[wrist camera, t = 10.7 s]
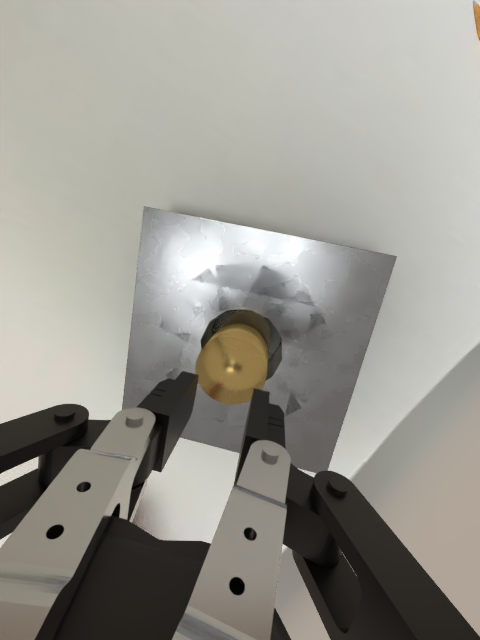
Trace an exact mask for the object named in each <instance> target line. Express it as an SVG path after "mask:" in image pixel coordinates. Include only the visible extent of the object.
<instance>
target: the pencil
mask: <svg viewBox="0 0 480 640" xmlns="http://www.w3.org/2000/svg"><path fill="white" fill-rule="evenodd" d="M473 1H474V0H473ZM474 13H475V20H476V27H477V33H478V36H479V39H480V6H479V5H478V4H477V3H476V2H475V1H474Z"/></svg>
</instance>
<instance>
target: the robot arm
mask: <svg viewBox="0 0 480 640" xmlns="http://www.w3.org/2000/svg"><path fill="white" fill-rule="evenodd" d="M198 378H199V375H198V374H194V373H190V372H186V371H182V372H181V373H180V374H179V376H178V377H177V378H176V379H175V380H173V379H169V378H168V379H166V380H163V381H161V382H159V383H158V384H157V385H156V387H155V388H154V389H153V390H152V391H151V392H150V394H148V395H147V396H146V397H145V398H144V399H143V401H142V402H141V403H140V404H139V405H138V406H137V407H136V408H127V409H124V410H121V411H119V412H118V413H117V414H116V415H115V416H114V417H113V418H112V420H88V417H89V412H88V410H87V409H86V408H85V407H83V406H81V405H77V404H62V405H57V406H54V407H51V408H48V409H45V410H42V411H39V412H36V413H32V414H29V415H26V416H23V417H20V418H17V419H14V420H11V421H8V422H5V423H2V424H0V474H1V473H2V472H4V471H6V470H9V469H11V468H13V467H15V466H18V465H20V464H22V463H24V462H27V461H29V460H31V459H33V458H36V457H38V456H39V461H38V469H36V470H33V471H31V472H29V473H27V474H25V475H23V476H21V477H19V478H17V479H15V480H12V481H10V482H8V483H6V484H4V485H2V486H0V539H2V538H4V537H5V536H7V535H9V534H10V533H12V532H13V533H12V534H11V535H10V536H9V538H8V539H7V540H6V541H5V543H4V544H3V545H2V547H1V548H0V640H291V639H290V637H289V635H288V633H287V631H286V629H285V627H284V625H283V623H282V621H281V619H280V617H279V615H278V613H277V611H276V609H275V608H274V606H275V598H276V590H277V583H278V575H279V567H280V559H281V552H282V544H284V545H286V546H287V547H289V548H290V549H292V553H293V558H294V560H295V563H296V565H297V567H298V569H299V571H300V574H301V576H302V578H303V580H304V582H305V585H306V587H307V589H308V591H309V593H310V596H311V598H312V600H313V602H314V604H315V606H316V609H317V611H318V613H319V615H320V617H321V620H322V622H323V624H324V626H325V628H326V630H327V633H328V635H329V637H330V639H331V640H480V637H479V636H478V634H477V633H476V632H475V631H474V629H473V628H472V627H471V626H470V625H469V623H468V622H467V621H466V620H465V619H464V617H463V616H462V615H461V614H460V612H459V611H458V610H457V609H456V608H455V606H454V605H453V604H452V603H451V602H450V600H449V599H448V598H447V597H446V595H445V594H444V593H443V592H442V591H441V589H440V588H439V587H438V586H437V585H436V584H435V582H434V581H433V580H432V579H431V577H430V576H429V575H428V574H427V573H426V571H425V570H424V569H423V568H422V566H421V565H420V564H419V563H418V562H417V560H416V559H415V558H414V557H413V556H412V554H411V553H410V552H409V551H408V549H407V548H406V547H405V546H404V545H403V543H402V542H401V541H400V540H399V539H398V537H397V536H396V535H395V534H394V532H392V530H391V529H390V528H389V526H388V525H387V524H386V523H385V522H384V520H383V519H382V518H381V517H380V515H379V514H378V513H377V512H376V511H375V509H374V508H373V507H372V506H371V505H370V503H369V502H368V501H367V500H366V499H365V497H364V496H363V495H362V494H361V493H360V491H359V490H358V489H357V488H356V487H355V485H354V484H353V483H352V482H351V481H350V480H348V479H347V478H346V477H344V476H342V475H340V474H338V473H336V472H332V471H320V472H318V473H317V474H316V475H315V477H314V478H313V477H311V476H309V475H307V474H306V473H304V472H302V471H300V470H299V469H297V468H296V467H295V466H294V465H293V464H292V463H291V458H290V455H289V453H288V452H287V450H286V446H285V428H284V427H285V423H284V412H283V411H282V409H281V408H280V406H279V405H275V404H271V403H269V394H270V392H268V391H264V390H260V389H256V388H254V389H253V394H252V398H251V402H250V407H249V411H248V415H247V420H246V424H245V429H244V434H243V439H242V444H241V450H240V455H239V460H238V466H237V471H236V476H235V481H234V486H233V488H232V491H231V493H230V496H229V499H228V501H227V504H226V506H225V509H224V512H223V514H222V517H221V519H220V522H219V525H218V527H217V530H216V532H215V535H214V538H213V540H212V543H211V544H210V543H206V542H203V541H164V540H159V539H157V538H155V537H153V536H152V535H150V534H149V533H147V532H145V531H144V530H142V529H141V528H139V527H138V526H136V525H134V524H133V523H132V522H133V519H134V516H135V514H136V511H137V508H138V506H139V503H140V501H141V498H142V495H143V493H144V490H145V487H146V483H147V478H148V476H149V475H150V473H151V471H152V470H154V471H158V472H161V471H162V469H163V468H164V466H165V464H166V462H167V460H168V458H169V456H170V454H171V453H172V451H173V449H174V447H175V445H176V443H177V441H178V440H179V438H180V436H181V434H182V432H183V430H184V428H185V426H186V425H187V423H188V421H189V419H190V417H191V414H192V410H193V406H194V401H195V395H196V390H197V384H198ZM342 552H343V553H342ZM343 554H344V555H343ZM344 556H345V557H346V558H345V557H344ZM346 559H347V560H348V562H349V563H348V562H347V560H346ZM349 564H350V565H351V567H352V568H353V570H354V572H355V573H354V572H353V570H352V568H351V567H350V565H349ZM355 574H356V575H357V576H356V575H355Z"/></svg>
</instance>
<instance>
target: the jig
mask: <svg viewBox="0 0 480 640" xmlns="http://www.w3.org/2000/svg"><path fill="white" fill-rule="evenodd" d="M396 257H397V256H392V255H387V254H382V253H377V252H372V251H367V250H362V249H357V248H352V247H347V246H342V245H337V244H332V243H327V242H322V241H317V240H312V239H306V238H301V237H296V236H291V235H286V234H281V233H276V232H271V231H266V230H261V229H256V228H251V227H246V226H241V225H236V224H231V223H226V222H221V221H216V220H211V219H206V218H201V217H196V216H190V215H185V214H180V213H175V212H170V211H165V210H160V209H155V208H150V207H145V206H144V212H143V221H142V230H141V239H140V248H139V258H138V267H137V276H136V285H135V294H134V304H133V313H132V322H131V331H130V340H129V350H128V359H127V368H126V377H125V386H124V395H123V405H122V410H124V409H127V408H136V407H137V406H138V405H139V404H140V403H141V402H142V401H143V399H144V398H145V397H146V396H147V395H148V394H150V392H151V391H152V390H153V389H154V388H155V387H156V385H157V384H158V383H159V382H161V381H163V380H166V379H168V378H169V379H173V380H175V379H176V378H177V377H178V376H179V374H180V373H181V372H182V371H186V372H190V373H194V374H196V372H195V366H196V360H197V357H198V355H199V353H200V351H201V350H202V349H203V348H204V346H205V345H206V344H207V343H208V341H209V340H210V339H211V338H212V337H213V335H214V333H213V325H214V323H215V321H216V319H217V317H218V316H219V315H221V314H222V313H224V312H225V311H227V310H246V309H250V310H252V311H254V312H256V313H258V314H260V315H261V316H263V317H265V318H267V319H269V320H270V321H271V323H272V324H273V326H274V327H275V329H276V330H277V332H278V333H279V335H280V336H281V341H282V342H281V344H280V346H279V348H278V349H277V351H276V353H275V355H274V356H273V358H271V359H269V360H268V366H267V376H266V381H265V384H264V386H263V388H262V390H264V391H268V392H270V394H269V403H271V404H275V405H279V406H280V408H281V409H282V411H283V412H284V423H285V427H284V428H285V446H286V450H287V452H288V453H289V455H290V458H291V463H292V464H293V465H294V466H295V467H296V468H299V469H303V470H307V471H311V472H315V473H318V472H320V471H327V470H328V467H329V464H330V461H331V458H332V455H333V452H334V448H335V445H336V442H337V439H338V436H339V433H340V430H341V427H342V424H343V421H344V418H345V415H346V412H347V408H348V405H349V402H350V399H351V396H352V393H353V390H354V387H355V384H356V381H357V378H358V375H359V371H360V368H361V365H362V362H363V359H364V356H365V353H366V350H367V347H368V344H369V341H370V338H371V334H372V331H373V328H374V325H375V322H376V319H377V316H378V313H379V310H380V307H381V304H382V301H383V298H384V294H385V291H386V288H387V285H388V282H389V279H390V276H391V273H392V270H393V267H394V264H395V261H396ZM250 402H251V400H250V401H248V402H246V403H242V404H236V405H230V404H224V403H221V402H218V401H216V400H214V399H212V398H211V397H210V396H208V395H207V394H206V393H205V392H204V391H203V389H202V388H201V386H200V385H199V383H198V384H197V390H196V395H195V401H194V406H193V410H192V414H191V417H190V419H189V421H188V423H187V425H186V426H185V428H184V430H183V432H182V434H181V436H180V437H181V438H184V439H188V440H192V441H196V442H200V443H204V444H207V445H211V446H215V447H219V448H223V449H227V450H230V451H234V452H238V453H240V450H241V444H242V439H243V434H244V429H245V424H246V420H247V415H248V411H249V407H250Z"/></svg>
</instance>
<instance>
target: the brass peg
mask: <svg viewBox="0 0 480 640" xmlns="http://www.w3.org/2000/svg"><path fill="white" fill-rule="evenodd" d="M269 344H270V328H269V325H268V323H267V321H266V320H265V319H264V318H263V317H262V316H261V315H260V314H258V313H256V312H254V311H251V310H240V311H237V312H235V313H233V314H231V315H230V316H229V317H228V318H227V319H226V321H225V322H224V323H223V324H222V325H221V327H220V328H219V329H218V330H217V332H216V333H215V334H214V335H213V337H212V338H211V339H210V340H209V341H208V343H207V344H206V345H205V346H204V348H203V349H202V350H201V351H200V353H199V355H198V357H197V360H196V366H195V372H196V374H198V375H199V378H198V383H199V385H200V386H201V388H202V389H203V391H204V392H205V393H206V394H207V395H208V396H210V397H211V398H212V399H214V400H216V401H218V402H221V403H224V404H230V405H236V404H242V403H246V402H248V401H250V400H251V398H252V394H253V389H254V388H256V389H260V390H262V388H263V386H264V384H265V381H266V376H267V366H268V355H269Z"/></svg>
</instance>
